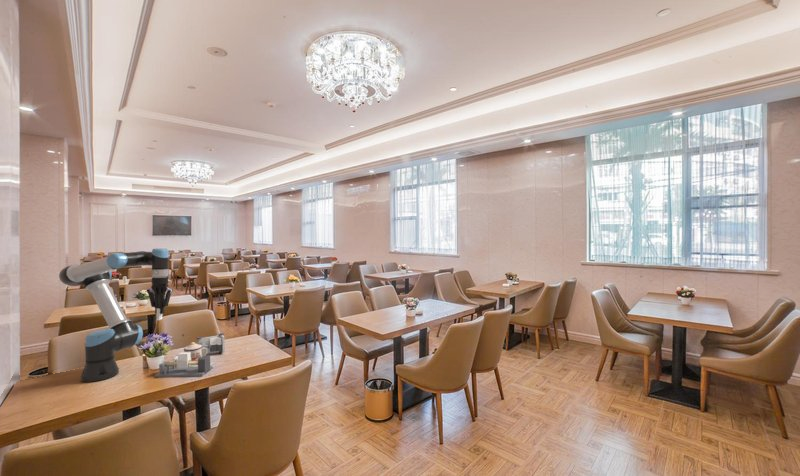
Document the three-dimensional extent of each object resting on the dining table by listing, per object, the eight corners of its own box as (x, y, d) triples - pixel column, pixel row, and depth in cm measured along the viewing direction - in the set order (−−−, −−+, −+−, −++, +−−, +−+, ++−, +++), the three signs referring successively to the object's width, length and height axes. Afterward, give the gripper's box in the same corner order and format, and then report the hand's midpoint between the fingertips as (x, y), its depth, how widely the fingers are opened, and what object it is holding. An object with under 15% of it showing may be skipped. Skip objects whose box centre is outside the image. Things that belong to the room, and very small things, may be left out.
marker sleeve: (177, 368, 187) (177, 354, 187) (181, 365, 191) (181, 352, 191) (187, 368, 187) (186, 354, 187) (191, 365, 191) (191, 351, 191)
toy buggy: (193, 361, 206) (193, 341, 206) (191, 357, 213) (191, 338, 213) (227, 354, 217) (227, 335, 217) (223, 350, 225) (223, 332, 225)
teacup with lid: (186, 366, 198) (185, 346, 198) (182, 362, 204) (181, 342, 204) (209, 361, 206) (209, 341, 206) (205, 357, 213) (204, 338, 212)
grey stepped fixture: (155, 377, 183) (155, 361, 183) (168, 369, 194) (168, 354, 194) (202, 376, 184) (202, 361, 184) (212, 368, 195) (212, 354, 195)
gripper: (143, 277, 188) (142, 321, 189) (167, 277, 189) (167, 321, 189) (152, 275, 196) (152, 317, 196) (176, 276, 196) (175, 318, 196)
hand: (159, 319), depth 193 cm, fingers closed
